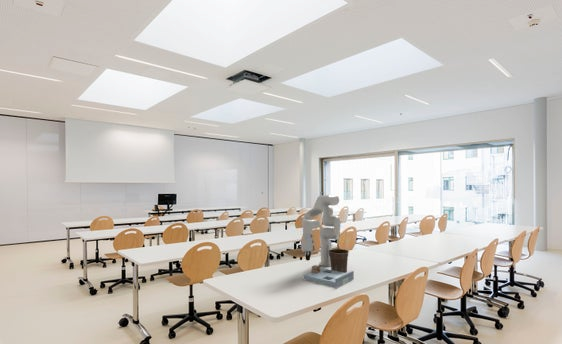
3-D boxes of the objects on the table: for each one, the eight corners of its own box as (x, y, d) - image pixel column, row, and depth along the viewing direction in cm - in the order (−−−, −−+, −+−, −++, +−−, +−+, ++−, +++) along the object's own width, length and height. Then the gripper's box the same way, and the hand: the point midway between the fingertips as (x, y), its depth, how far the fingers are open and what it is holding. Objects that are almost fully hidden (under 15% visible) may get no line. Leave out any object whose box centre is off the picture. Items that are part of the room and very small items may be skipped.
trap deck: (321, 272, 243) (321, 265, 244) (353, 278, 225) (353, 271, 226) (303, 279, 225) (303, 271, 225) (337, 287, 207) (336, 278, 207)
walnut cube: (315, 271, 236) (315, 265, 236) (320, 272, 233) (320, 266, 233) (311, 272, 232) (311, 266, 232) (316, 273, 229) (316, 267, 230)
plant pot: (326, 273, 240) (326, 252, 240) (330, 268, 255) (330, 248, 256) (348, 275, 234) (347, 253, 235) (350, 269, 250) (350, 249, 250)
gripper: (318, 236, 236) (318, 260, 235) (302, 234, 246) (302, 258, 244) (313, 237, 230) (313, 262, 229) (297, 235, 240) (297, 259, 239)
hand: (307, 260), depth 237 cm, fingers closed
